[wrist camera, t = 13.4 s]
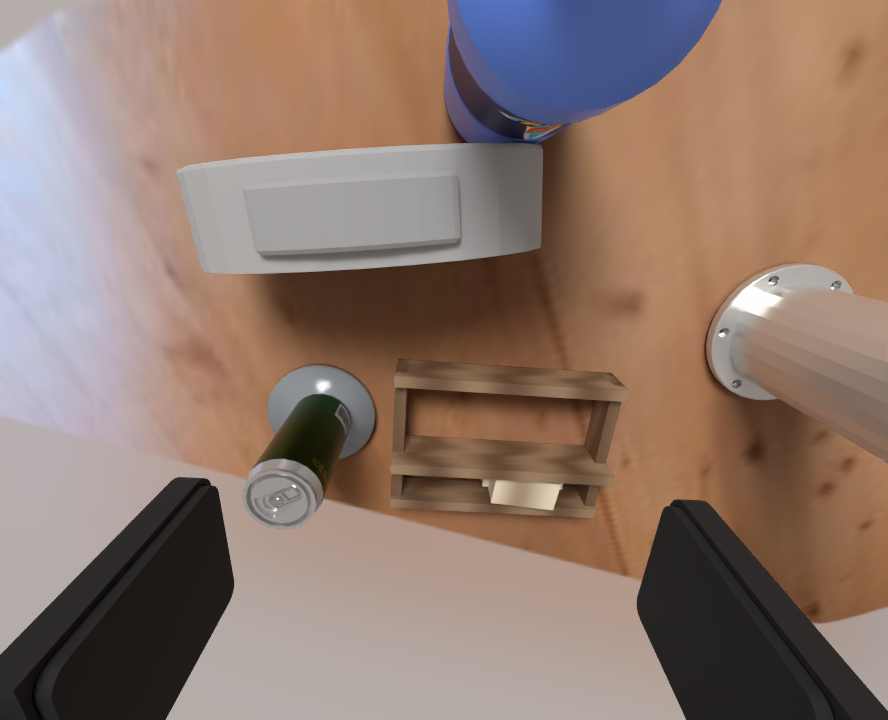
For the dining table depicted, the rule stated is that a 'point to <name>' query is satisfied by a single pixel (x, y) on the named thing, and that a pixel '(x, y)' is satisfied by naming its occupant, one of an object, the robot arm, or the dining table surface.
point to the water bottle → (558, 60)
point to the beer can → (298, 463)
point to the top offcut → (524, 493)
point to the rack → (502, 456)
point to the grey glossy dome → (328, 382)
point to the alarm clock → (364, 207)
